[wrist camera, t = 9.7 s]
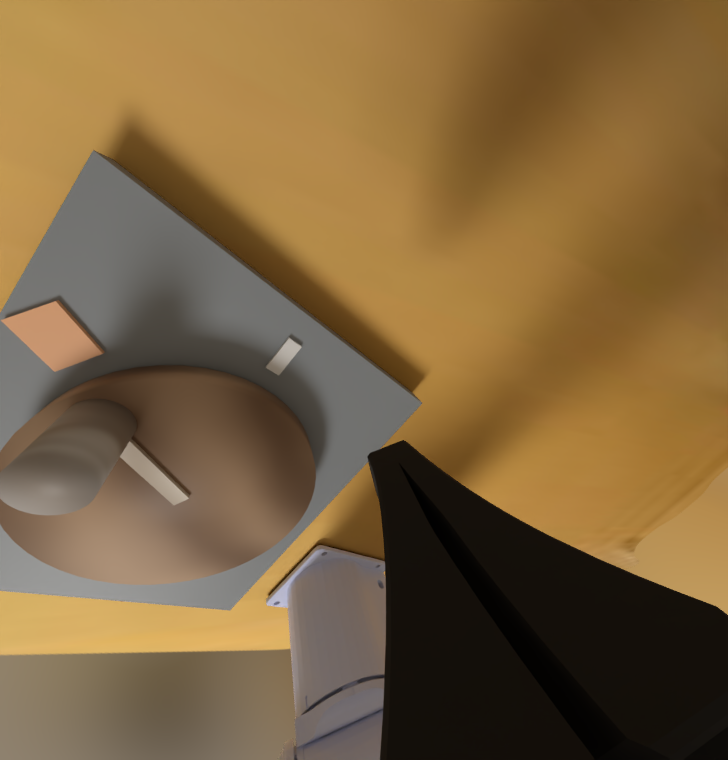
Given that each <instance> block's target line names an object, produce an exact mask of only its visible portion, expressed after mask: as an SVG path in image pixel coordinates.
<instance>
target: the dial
mask: <svg viewBox="0 0 728 760" xmlns="http://www.w3.org/2000/svg"><path fill="white" fill-rule="evenodd" d="M315 481H316V470H315V463H314V458H313V454H312V450H311V446H310V442H309V438H308V435H307V433H306V431H305V429H304V427H303V425H302V423H301V422H300V420H299V419H298V417H297V416H296V415H295V414H294V413H293V411H292V410H291V409H290V408H289V407H288V406H287V405H286V404H285V403H284V402H282V401H281V400H280V399H279V398H278V397H276V396H275V395H274V394H272V393H270V392H269V391H267V390H266V389H264V388H262V387H261V386H259V385H256V384H254V383H252V382H250V381H248V380H246V379H243V378H241V377H238V376H235V375H232V374H229V373H226V372H221V371H217V370H212V369H208V368H201V367H192V366H184V365H157V366H146V367H136V368H131V369H126V370H121V371H116V372H112V373H109V374H106V375H103V376H100V377H97V378H93V379H91V380H89V381H87V382H84V383H82V384H80V385H78V386H76V387H74V388H71V389H70V390H68V391H67V392H65V393H64V394H62V395H61V396H59V397H57V398H56V399H54V400H53V401H52V402H51V403H49V404H48V405H47V406H46V407H44V408H43V409H42V410H41V411H40V412H38V413H37V414H36V415H35V416H34V417H32V418H31V419H30V420H29V421H28V422H27V423H25V424H24V425H23V426H22V427H21V428H20V429H19V430H18V431H16V432H15V433H14V434H13V436H12V437H11V438H10V439H9V441H8V442H7V443H6V444H5V446H4V447H3V448H2V450H1V452H0V525H1V526H2V528H3V530H4V531H5V532H6V533H7V534H8V535H9V537H10V538H11V539H12V540H13V541H14V542H15V543H16V544H17V545H18V546H20V547H21V548H22V549H23V550H24V551H26V552H27V553H28V554H30V555H32V556H33V557H35V558H36V559H38V560H40V561H41V562H43V563H45V564H47V565H49V566H52V567H54V568H56V569H58V570H61V571H64V572H66V573H69V574H72V575H75V576H79V577H83V578H87V579H91V580H95V581H102V582H108V583H115V584H129V585H156V584H170V583H177V582H184V581H190V580H194V579H199V578H204V577H207V576H211V575H214V574H218V573H221V572H224V571H227V570H229V569H232V568H235V567H237V566H239V565H241V564H244V563H246V562H248V561H250V560H252V559H254V558H256V557H257V556H259V555H261V554H263V553H264V552H266V551H267V550H269V549H270V548H272V547H273V546H274V545H276V544H277V543H278V542H279V541H281V540H282V539H283V538H284V537H285V536H286V535H287V534H288V533H289V532H290V531H291V530H292V529H293V528H294V527H295V526H296V525H297V523H298V522H299V521H300V520H301V518H302V517H303V515H304V513H305V512H306V510H307V508H308V506H309V504H310V502H311V499H312V496H313V493H314V489H315Z"/></svg>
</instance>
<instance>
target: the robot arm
mask: <svg viewBox="0 0 728 760" xmlns="http://www.w3.org/2000/svg"><path fill="white" fill-rule="evenodd" d="M367 458H368V462H369V466H370V470H371V474H372V478H373V482H374V486H375V490H376V493H377V496H378V498H379V502H380V509H381V516H382V527H383V538H384V552H385V561H382V560H378V559H374V558H370V557H366V556H362V555H358V554H355V553H351V552H347V551H343V550H339V549H335V548H331V547H327V546H323V545H319V546H316V547H315V548H314V549H313V550H312V551H311V552H310V553H309V555H308V556H307V557H306V558H305V559H304V560H303V561H302V562H301V563H300V564H299V565H298V566H297V567H296V568H295V569H294V570H293V571H292V572H291V573H290V574H289V576H288V577H287V578H286V579H285V580H284V581H283V582H282V583H281V584H280V585H279V586H278V587H277V588H276V589H275V590H274V591H273V592H272V593H271V594H270V596H269V597H268V598H267V599H266V604H267V605H268V606H276V607H286V608H288V618H289V632H290V645H291V659H292V673H293V687H294V701H295V714H296V718H295V734H296V746H295V747H294V746H293V739H291V740H287V741H286V742H285V743H284V747H283V750H282V751H281V753H280V756H279V758H278V760H728V615H727V614H726V613H724V612H723V611H722V610H720V609H719V608H718V607H716V606H713V605H711V604H708V603H706V602H703V601H701V600H698V599H695V598H693V597H690V596H687V595H685V594H682V593H680V592H677V591H674V590H672V589H669V588H667V587H664V586H662V585H659V584H657V583H654V582H652V581H649V580H647V579H644V578H642V577H639V576H637V575H634V574H632V573H630V572H628V571H625V570H623V569H621V568H618V567H616V566H614V565H611V564H609V563H607V562H604V561H602V560H600V559H597V558H595V557H593V556H591V555H589V554H587V553H585V552H583V551H581V550H578V549H576V548H574V547H572V546H570V545H568V544H566V543H564V542H561V541H559V540H557V539H555V538H553V537H551V536H549V535H547V534H545V533H543V532H541V531H539V530H537V529H536V528H534V527H532V526H530V525H528V524H526V523H524V522H522V521H521V520H519V519H517V518H515V517H513V516H512V515H510V514H508V513H506V512H505V511H503V510H501V509H500V508H498V507H496V506H495V505H493V504H491V503H490V502H488V501H486V500H485V499H483V498H482V497H480V496H479V495H477V494H475V493H474V492H472V491H471V490H469V489H468V488H466V487H465V486H463V485H462V484H460V483H459V482H458V481H456V480H455V479H453V478H452V477H451V476H449V475H448V474H446V473H445V472H444V471H442V470H441V469H440V468H438V467H437V466H436V465H434V464H433V463H432V462H430V461H429V460H428V459H427V458H425V457H424V456H423V455H422V454H420V453H419V452H418V451H417V450H416V449H414V448H413V447H412V446H411V445H410V444H409V443H407V442H406V441H404V440H402V441H400V442H397V443H395V444H392V445H389V446H387V447H384V448H382V449H379V450H376V451H374V452H371V453H369V455H368V456H367ZM384 571H385V575H384V573H383V572H384ZM385 576H386V578H385Z"/></svg>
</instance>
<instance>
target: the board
mask: <svg viewBox="0 0 728 760" xmlns="http://www.w3.org/2000/svg"><path fill="white" fill-rule="evenodd" d="M157 365H184V366H192V367H201V368H208V369H212V370H217V371H221V372H226V373H229V374H232V375H235V376H238V377H241V378H243V379H246V380H248V381H250V382H252V383H254V384H256V385H259V386H261V387H262V388H264V389H266V390H267V391H269V392H270V393H272V394H274V395H275V396H276V397H278V398H279V399H280V400H281V401H282V402H284V403H285V404H286V405H287V406H288V407H289V408H290V409H291V410H292V411H293V413H294V414H295V415H296V416H297V417H298V419H299V420H300V422H301V423H302V425H303V427H304V429H305V431H306V433H307V435H308V438H309V442H310V446H311V450H312V454H313V458H314V463H315V470H316V481H315V489H314V493H313V496H312V499H311V502H310V504H309V506H308V508H307V510H306V512H305V513H304V515H303V517H302V518H301V520H300V521H299V522H298V523H297V525H296V526H295V527H294V528H293V529H292V530H291V531H290V532H289V533H288V534H287V535H286V536H285V537H284V538H283V539H282V540H281V541H279V542H278V543H277V544H276V545H274V546H273V547H272V548H270V549H269V550H267V551H266V552H264V553H263V554H261V555H259V556H257V557H256V558H254V559H252V560H250V561H248V562H246V563H244V564H241V565H239V566H237V567H235V568H232V569H229V570H227V571H224V572H221V573H218V574H214V575H211V576H207V577H204V578H199V579H194V580H190V581H184V582H177V583H170V584H156V585H129V584H115V583H108V582H102V581H95V580H91V579H87V578H83V577H79V576H75V575H72V574H69V573H66V572H64V571H61V570H58V569H56V568H54V567H52V566H49V565H47V564H45V563H43V562H41V561H40V560H38V559H36V558H35V557H33V556H32V555H30V554H28V553H27V552H26V551H24V550H23V549H22V548H21V547H20V546H18V545H17V544H16V543H15V542H14V541H13V540H12V539H11V538H10V537H9V535H8V534H7V533H6V532H5V531H4V530H3V528H2V526H1V525H0V591H9V592H21V593H32V594H44V595H56V596H68V597H80V598H91V599H103V600H115V601H127V602H138V603H150V604H162V605H174V606H185V607H197V608H209V609H221V610H231V609H232V608H233V606H234V605H235V604H236V603H237V602H238V601H239V600H240V599H241V598H242V597H243V596H244V595H245V594H246V592H247V591H248V590H249V589H250V588H251V587H252V586H253V585H254V584H255V583H256V582H257V581H258V580H259V578H260V577H261V576H262V575H263V574H264V573H265V572H266V571H267V570H268V569H269V568H270V567H271V566H272V565H273V563H274V562H275V561H276V560H277V559H278V558H279V557H280V556H281V555H282V554H283V553H284V552H285V551H286V549H287V548H288V547H289V546H290V545H291V544H292V543H293V542H294V541H295V540H296V539H297V538H298V537H299V535H300V534H301V533H302V532H303V531H304V530H305V529H306V528H307V527H308V526H309V525H310V524H311V523H312V521H313V520H314V519H315V518H316V517H317V516H318V515H319V514H320V513H321V512H322V511H323V510H324V509H325V507H326V506H327V505H328V504H329V503H330V502H331V501H332V500H333V499H334V498H335V497H336V496H337V495H338V493H339V492H340V491H341V490H342V489H343V488H344V487H345V486H346V485H347V484H348V483H349V482H350V481H351V479H352V478H353V477H354V476H355V475H356V474H357V473H358V472H359V471H360V470H361V469H362V468H363V467H364V465H365V464H366V463H367V462H368V458H367V456H368V455H369V453H371V452H374V451H376V450H379V449H380V448H381V447H382V446H383V445H384V444H385V443H386V442H387V441H388V440H389V439H390V437H391V436H392V435H393V434H394V433H395V432H396V431H397V430H398V429H399V428H400V427H401V426H402V425H403V423H404V422H405V421H406V420H407V419H408V418H409V417H410V416H411V415H412V414H413V413H414V412H415V411H416V410H417V408H418V407H419V406H420V405H421V404H422V402H421V401H420V400H419V399H418V398H417V397H416V396H415V395H414V394H413V393H412V392H411V391H410V390H408V389H407V388H406V387H405V386H403V385H402V384H401V383H399V382H398V381H397V380H396V379H394V378H393V377H392V376H390V375H389V374H388V373H387V372H385V371H384V370H383V369H381V368H380V367H379V366H378V365H376V364H375V363H374V362H372V361H371V360H370V359H369V358H367V357H366V356H365V355H363V354H362V353H361V352H360V351H358V350H357V349H356V348H354V347H353V346H352V345H351V344H349V343H348V342H347V341H345V340H344V339H343V338H342V337H340V336H339V335H338V334H336V333H335V332H334V331H333V330H331V329H330V328H329V327H327V326H326V325H325V324H324V323H322V322H321V321H320V320H318V319H317V318H316V317H315V316H313V315H312V314H311V313H309V312H308V311H307V310H306V309H304V308H303V307H302V306H300V305H299V304H298V303H297V302H295V301H294V300H293V299H291V298H290V297H289V296H288V295H286V294H285V293H284V292H282V291H281V290H280V289H279V288H277V287H276V286H275V285H273V284H272V283H271V282H270V281H268V280H267V279H266V278H264V277H263V276H262V275H261V274H259V273H258V272H257V271H255V270H254V269H253V268H252V267H250V266H249V265H248V264H246V263H245V262H244V261H243V260H241V259H240V258H239V257H237V256H236V255H235V254H234V253H232V252H231V251H230V250H228V249H227V248H226V247H225V246H223V245H222V244H221V243H219V242H218V241H217V240H216V239H214V238H213V237H212V236H210V235H209V234H208V233H207V232H205V231H204V230H203V229H201V228H200V227H199V226H198V225H196V224H195V223H194V222H192V221H191V220H190V219H189V218H187V217H186V216H185V215H183V214H182V213H181V212H180V211H178V210H177V209H176V208H174V207H173V206H172V205H171V204H169V203H168V202H167V201H165V200H164V199H163V198H162V197H160V196H159V195H158V194H156V193H155V192H154V191H153V190H151V189H150V188H149V187H147V186H146V185H145V184H144V183H142V182H141V181H140V180H138V179H137V178H136V177H135V176H133V175H132V174H131V173H129V172H128V171H127V170H126V169H124V168H123V167H122V166H120V165H119V164H118V163H117V162H115V161H114V160H113V159H111V158H109V157H107V156H104V155H102V154H100V153H98V152H96V151H94V150H93V152H92V153H91V155H90V157H89V159H88V160H87V162H86V164H85V166H84V167H83V169H82V171H81V173H80V174H79V176H78V178H77V180H76V181H75V183H74V185H73V187H72V188H71V190H70V192H69V194H68V195H67V197H66V199H65V201H64V202H63V204H62V206H61V208H60V209H59V211H58V213H57V215H56V216H55V218H54V220H53V222H52V223H51V225H50V227H49V229H48V231H47V232H46V234H45V236H44V238H43V239H42V241H41V243H40V245H39V246H38V248H37V250H36V252H35V253H34V255H33V257H32V259H31V260H30V262H29V264H28V266H27V267H26V269H25V271H24V273H23V274H22V276H21V278H20V280H19V281H18V283H17V285H16V287H15V288H14V290H13V292H12V294H11V295H10V297H9V299H8V301H7V302H6V304H5V306H4V308H3V309H2V311H1V313H0V452H1V450H2V448H3V447H4V446H5V444H6V443H7V442H8V441H9V439H10V438H11V437H12V436H13V434H14V433H15V432H16V431H18V430H19V429H20V428H21V427H22V426H23V425H24V424H25V423H27V422H28V421H29V420H30V419H31V418H32V417H34V416H35V415H36V414H37V413H38V412H40V411H41V410H42V409H43V408H44V407H46V406H47V405H48V404H49V403H51V402H52V401H53V400H54V399H56V398H57V397H59V396H61V395H62V394H64V393H65V392H67V391H68V390H70V389H71V388H74V387H76V386H78V385H80V384H82V383H84V382H87V381H89V380H91V379H93V378H97V377H100V376H103V375H106V374H109V373H112V372H116V371H121V370H126V369H131V368H136V367H146V366H157Z"/></svg>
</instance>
